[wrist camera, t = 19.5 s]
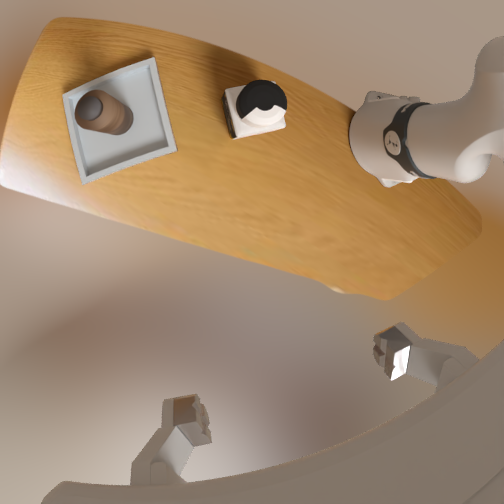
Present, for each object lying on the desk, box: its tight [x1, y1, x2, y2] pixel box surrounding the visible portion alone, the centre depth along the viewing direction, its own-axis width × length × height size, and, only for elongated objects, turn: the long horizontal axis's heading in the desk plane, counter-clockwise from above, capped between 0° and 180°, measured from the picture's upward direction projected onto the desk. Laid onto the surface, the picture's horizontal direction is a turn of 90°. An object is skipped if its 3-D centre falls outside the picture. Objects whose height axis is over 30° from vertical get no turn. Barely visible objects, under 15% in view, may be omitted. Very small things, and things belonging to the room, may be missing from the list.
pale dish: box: [63, 57, 178, 185], centre depth 36 cm, size 16×16×2 cm
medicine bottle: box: [221, 80, 287, 139], centre depth 36 cm, size 7×7×12 cm
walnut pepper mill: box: [74, 90, 134, 135], centre depth 31 cm, size 5×5×14 cm
